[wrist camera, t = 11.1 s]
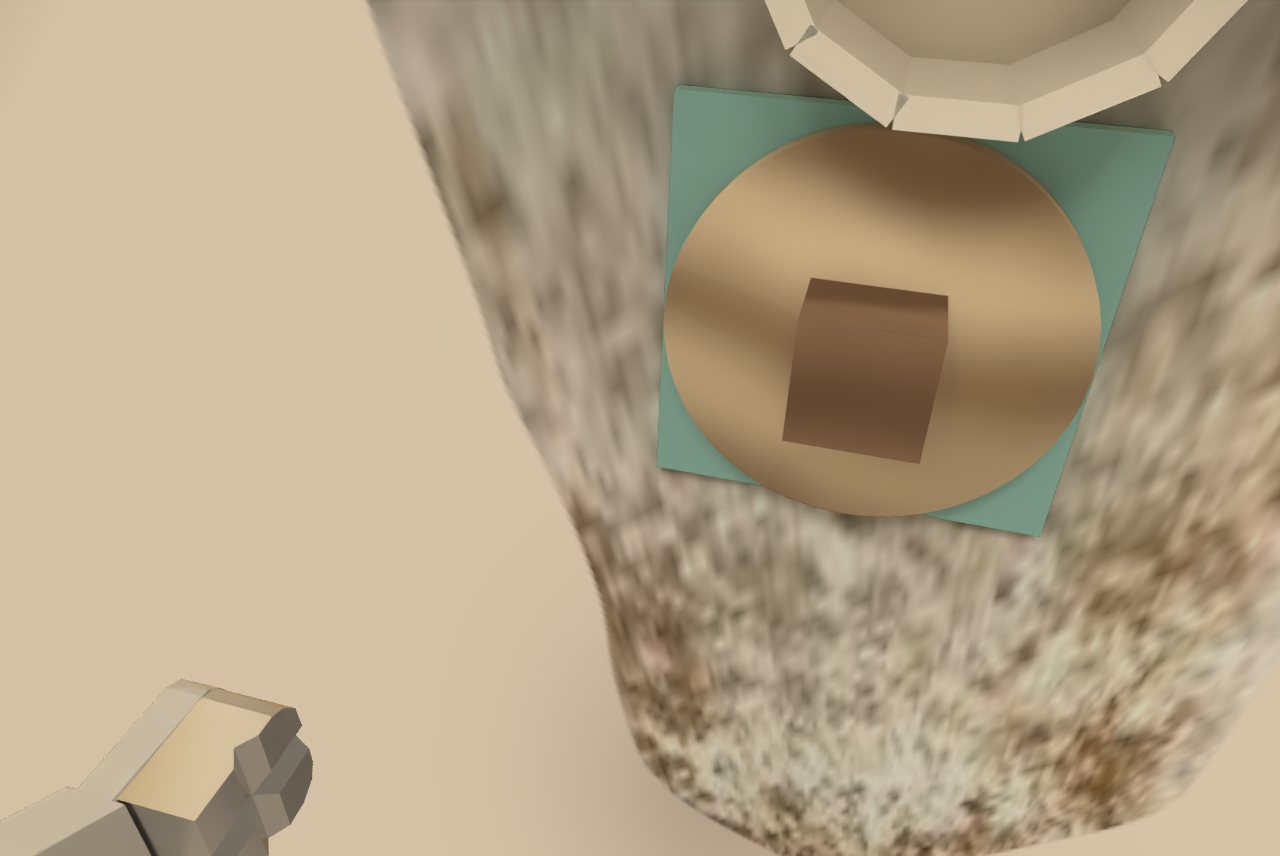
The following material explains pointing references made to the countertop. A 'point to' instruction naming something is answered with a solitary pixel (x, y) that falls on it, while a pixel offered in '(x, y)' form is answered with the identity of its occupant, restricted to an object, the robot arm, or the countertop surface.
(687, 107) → the rubber mat
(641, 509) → the countertop surface
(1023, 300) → the oak lid
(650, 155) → the countertop surface
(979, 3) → the ceramic bowl
